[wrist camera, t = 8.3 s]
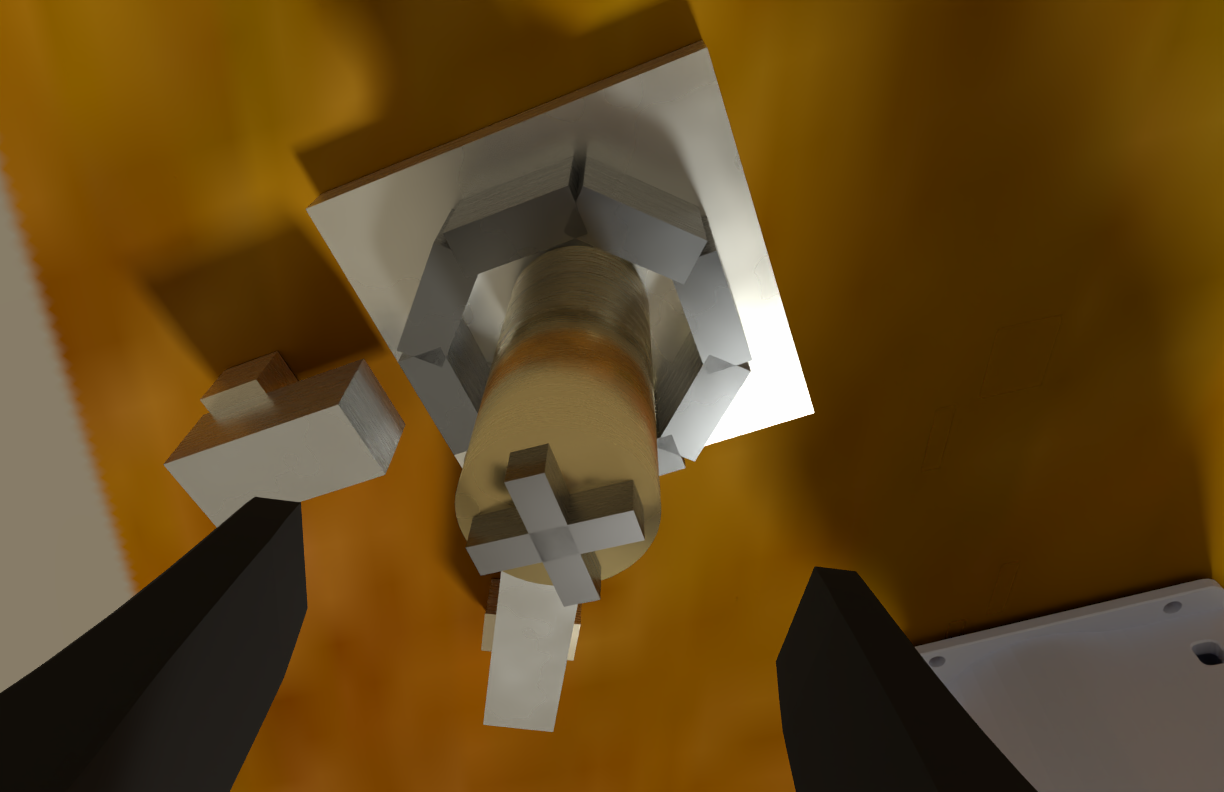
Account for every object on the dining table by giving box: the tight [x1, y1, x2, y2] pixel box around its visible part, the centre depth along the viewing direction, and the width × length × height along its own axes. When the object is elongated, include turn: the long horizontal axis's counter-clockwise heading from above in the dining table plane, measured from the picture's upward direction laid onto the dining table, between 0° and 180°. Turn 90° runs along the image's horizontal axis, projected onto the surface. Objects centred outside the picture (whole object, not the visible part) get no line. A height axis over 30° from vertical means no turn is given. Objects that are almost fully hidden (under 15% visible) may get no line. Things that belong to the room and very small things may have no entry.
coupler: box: [455, 246, 661, 607], centre depth 15 cm, size 3×3×8 cm
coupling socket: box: [163, 40, 814, 732], centre depth 20 cm, size 14×15×3 cm
